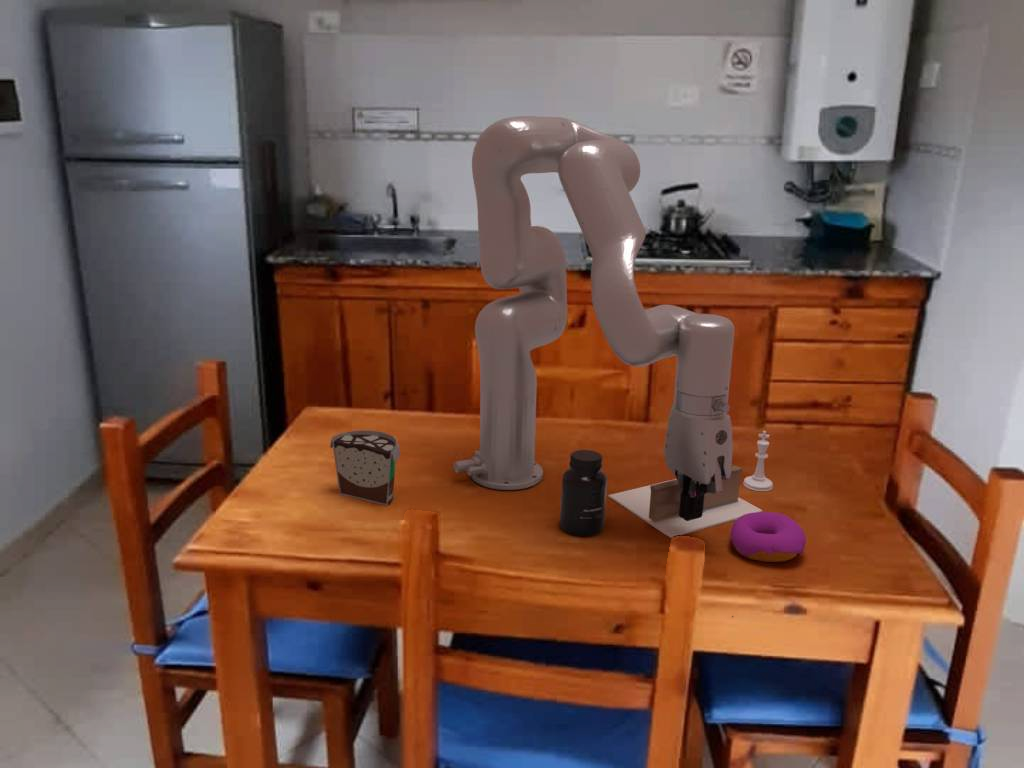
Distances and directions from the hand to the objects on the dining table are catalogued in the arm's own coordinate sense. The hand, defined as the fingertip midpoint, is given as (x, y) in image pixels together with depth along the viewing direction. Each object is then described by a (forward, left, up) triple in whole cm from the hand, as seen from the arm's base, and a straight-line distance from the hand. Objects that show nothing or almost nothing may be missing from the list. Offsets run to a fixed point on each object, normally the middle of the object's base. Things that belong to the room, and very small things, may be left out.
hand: (690, 516), depth 126 cm
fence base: (+7, +9, -3) cm, 12 cm away
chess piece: (+23, +9, -4) cm, 25 cm away
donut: (+8, -8, -4) cm, 12 cm away
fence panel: (+1, +6, -3) cm, 7 cm away
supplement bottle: (-13, +10, -4) cm, 17 cm away
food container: (-37, +36, -4) cm, 52 cm away
